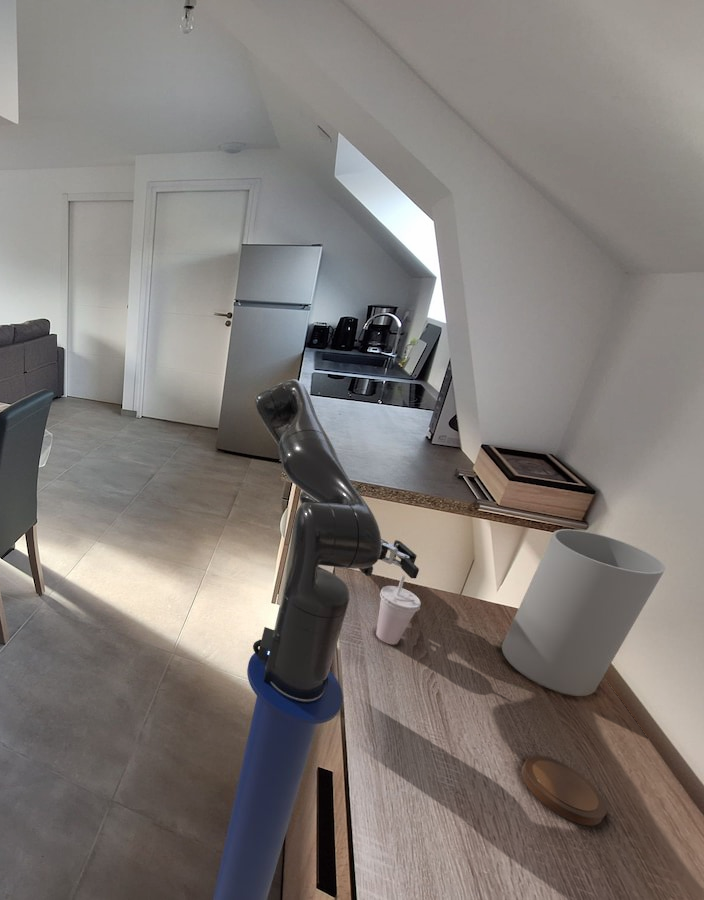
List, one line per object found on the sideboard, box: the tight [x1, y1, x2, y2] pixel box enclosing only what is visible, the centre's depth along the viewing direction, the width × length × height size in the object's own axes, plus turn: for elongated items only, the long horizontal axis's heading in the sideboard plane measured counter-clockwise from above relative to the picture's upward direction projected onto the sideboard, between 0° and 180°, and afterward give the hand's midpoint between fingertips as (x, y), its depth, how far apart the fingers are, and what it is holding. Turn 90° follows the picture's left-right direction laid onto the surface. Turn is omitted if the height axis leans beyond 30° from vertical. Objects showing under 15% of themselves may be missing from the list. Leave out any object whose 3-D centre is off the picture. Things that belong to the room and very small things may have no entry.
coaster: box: [520, 755, 608, 827], centre depth 61 cm, size 8×8×2 cm
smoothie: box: [375, 574, 422, 646], centre depth 84 cm, size 6×6×14 cm
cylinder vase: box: [501, 528, 666, 697], centre depth 77 cm, size 12×12×25 cm
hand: (392, 573), depth 86 cm, fingers open, 8 cm apart
